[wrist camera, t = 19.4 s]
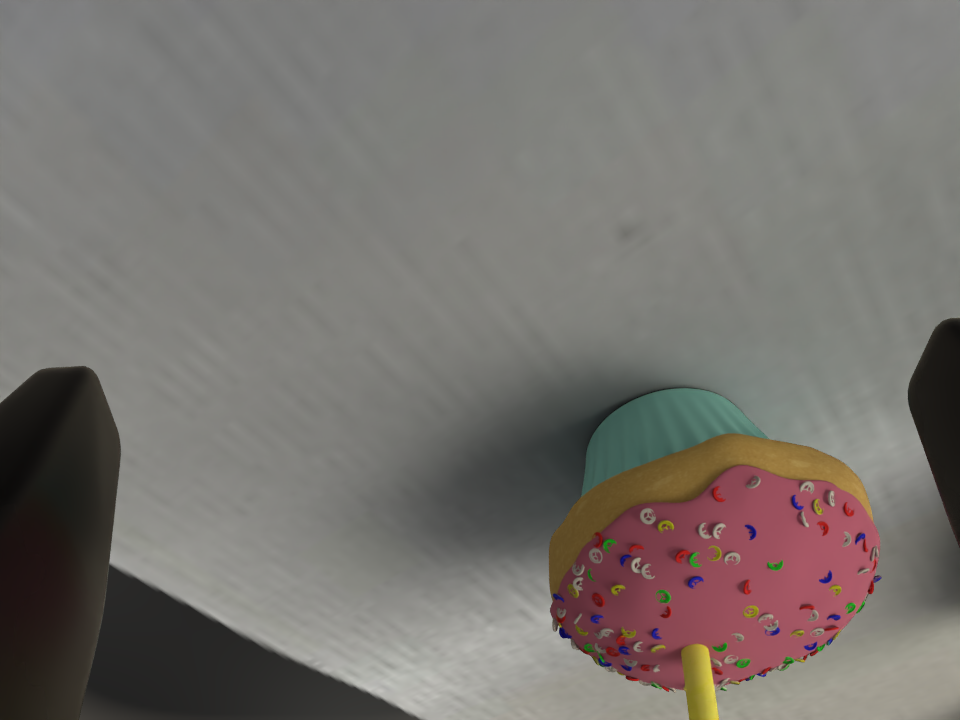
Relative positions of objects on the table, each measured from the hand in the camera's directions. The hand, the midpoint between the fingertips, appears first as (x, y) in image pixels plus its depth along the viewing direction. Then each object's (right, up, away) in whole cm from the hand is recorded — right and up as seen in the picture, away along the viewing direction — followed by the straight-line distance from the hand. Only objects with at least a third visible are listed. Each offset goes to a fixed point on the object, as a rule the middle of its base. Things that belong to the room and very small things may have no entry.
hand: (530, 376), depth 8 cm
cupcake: (+5, -2, +18) cm, 19 cm away
